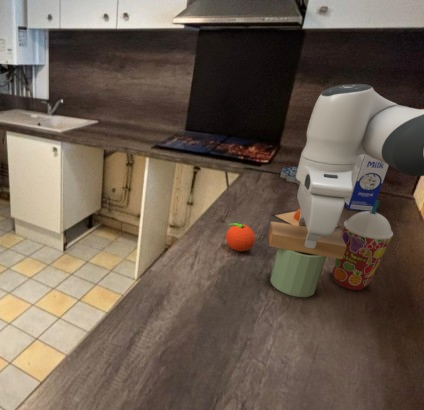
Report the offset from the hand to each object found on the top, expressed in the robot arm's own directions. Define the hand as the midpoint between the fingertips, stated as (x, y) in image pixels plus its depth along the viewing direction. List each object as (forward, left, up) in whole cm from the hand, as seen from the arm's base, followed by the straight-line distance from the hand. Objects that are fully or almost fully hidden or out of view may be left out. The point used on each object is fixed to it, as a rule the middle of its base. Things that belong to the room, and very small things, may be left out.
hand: (305, 235), depth 75 cm
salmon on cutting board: (-7, -38, -13) cm, 41 cm away
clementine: (+12, -12, -13) cm, 21 cm away
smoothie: (-12, -6, -13) cm, 18 cm away
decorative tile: (-13, -82, -12) cm, 84 cm away
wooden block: (0, 0, -2) cm, 2 cm away
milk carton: (-24, -57, -13) cm, 63 cm away
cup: (0, 0, -12) cm, 12 cm away
